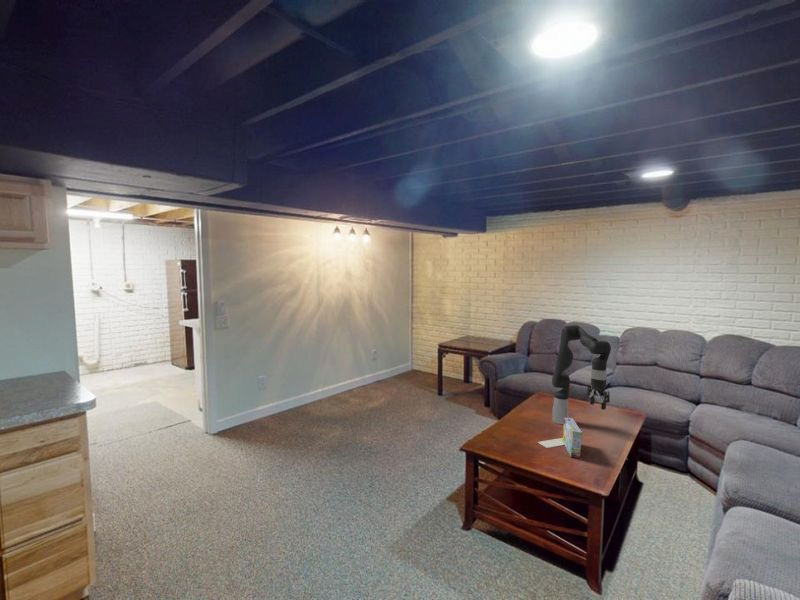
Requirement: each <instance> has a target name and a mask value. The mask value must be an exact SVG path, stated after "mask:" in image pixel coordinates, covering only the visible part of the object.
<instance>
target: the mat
mask: <svg viewBox="0 0 800 600" xmlns="http://www.w3.org/2000/svg"><path fill="white" fill-rule="evenodd" d="M537 443H538V444H539V445H541V446H543V447H544V448H546V449H552V448H556V447H563V446H565V445H564V443H563V437H561V438H555V439H554V438H553V439H547V440H541V441H537Z"/></svg>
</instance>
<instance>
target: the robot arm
mask: <svg viewBox="0 0 800 600" xmlns="http://www.w3.org/2000/svg"><path fill="white" fill-rule="evenodd" d="M578 340H580V341H579V342H580V344H581V345H582V346H583V347H585V348H586V349H588V351H589V353H591V354H593V355H599V356H598V357H595V358H592V361H591V372H590V373H591V375H590V384H589V385H587V393H586V395H587V396H588V397H589V405H595V397H597V398H598V399H600V402H601V403H600V408H601V410H603V411H604V410H606V409H607V403H610V391H609V390H607V391H606V390H605V388H606V387H607V377H608V376H607V365H608V364H607V363H608V360H609V357H610V353H611V350H612V347H611V344H610V343H609V342H608V341H605V340H604V341H602V340H601V341H600V340H598V339H597V338H596V337H594V336H592V335H590V334H589V333H587V332H586V330H584V329H583V328H582V327H580V326H579V325H577V324H576V325H575V324H573V325H564V326H563V327H562V329H561V332H560V340H559V341H560V343H559V348H558V354H557V356H556V357H557V358H556V364H555V368H554V371H553V374H552V378H551V384H552V387H554V388H557V389H558V388H559V389H560V390H557V391H555V392H554V393H553V406H552V411H551V421H552V422H553V423H555V424H557V425H564V418H569V394H570V386H571V385H570V383H571V379H570V375H568V374H564V372H565V371H566V370H567V369H569V368H570V367H571V365H572V363H573V361H574V360H573V359H574V353H573V350H572V349H571V348H570V346H569V342H570V341H572V342H573V341H578Z"/></svg>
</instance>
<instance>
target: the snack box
mask: <svg viewBox="0 0 800 600" xmlns="http://www.w3.org/2000/svg"><path fill="white" fill-rule="evenodd" d="M562 438H563V443H564V445H563V446H565V449H566V450H567V452H568V454H569V456H570V457H571V458H575V459H580V458H581V450H582V441H583V440H582V438H583V431H582V430H581V429H580V427H579V426H578V424H577V423H576V421H575V420H574V418H573V417H568V418H564V424H563V431H562ZM570 457H569V458H570Z"/></svg>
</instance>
